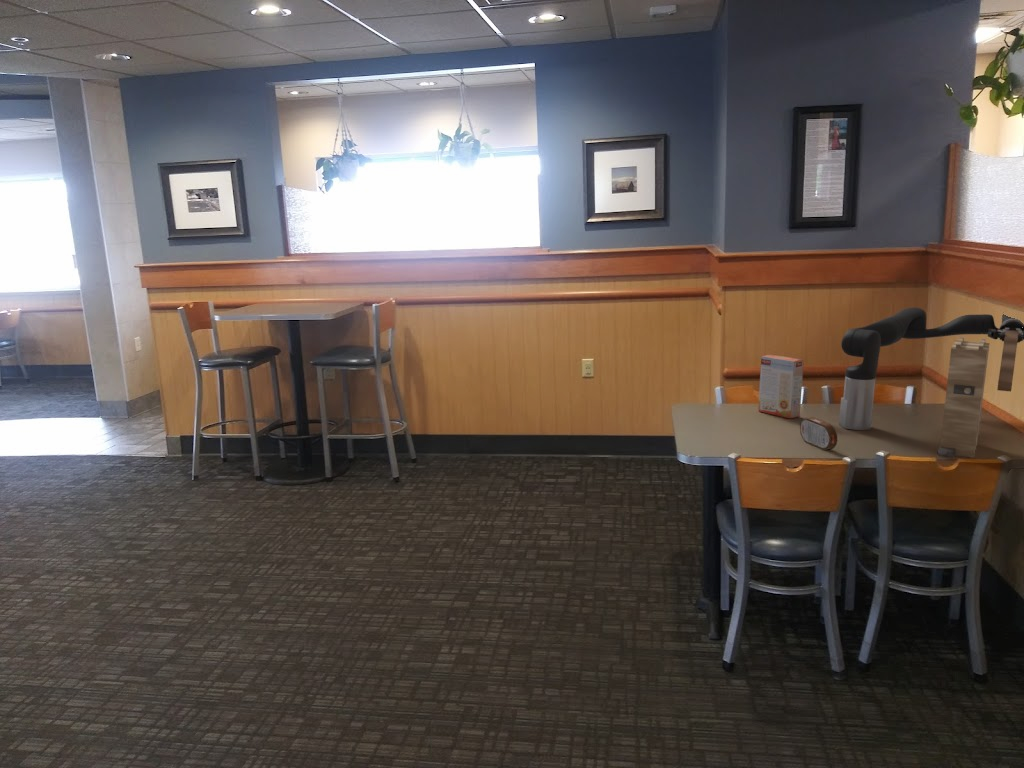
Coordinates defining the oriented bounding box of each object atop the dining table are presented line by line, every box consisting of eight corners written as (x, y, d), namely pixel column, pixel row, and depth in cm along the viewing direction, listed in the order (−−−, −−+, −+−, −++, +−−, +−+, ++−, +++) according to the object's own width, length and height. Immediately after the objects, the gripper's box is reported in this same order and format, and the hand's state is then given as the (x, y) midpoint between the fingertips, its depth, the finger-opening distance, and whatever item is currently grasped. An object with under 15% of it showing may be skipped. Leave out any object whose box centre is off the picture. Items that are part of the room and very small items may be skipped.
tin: (837, 452, 235) (839, 425, 233) (828, 453, 234) (830, 426, 232) (805, 439, 249) (807, 413, 247) (797, 439, 248) (799, 414, 246)
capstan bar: (1004, 338, 246) (1005, 330, 244) (1017, 339, 244) (1018, 330, 242) (997, 390, 232) (998, 381, 230) (1011, 391, 231) (1012, 383, 228)
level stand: (943, 439, 246) (954, 336, 239) (977, 444, 241) (990, 339, 234) (936, 457, 229) (948, 346, 222) (972, 462, 224) (986, 349, 217)
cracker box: (800, 416, 276) (804, 359, 271) (790, 419, 272) (794, 361, 268) (768, 409, 287) (771, 353, 283) (757, 411, 284) (760, 355, 279)
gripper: (988, 318, 258) (986, 325, 244) (1039, 320, 251) (1040, 328, 237) (986, 340, 260) (983, 348, 246) (1036, 343, 252) (1036, 352, 238)
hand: (1011, 338), depth 241 cm, fingers closed on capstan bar, 3 cm apart
